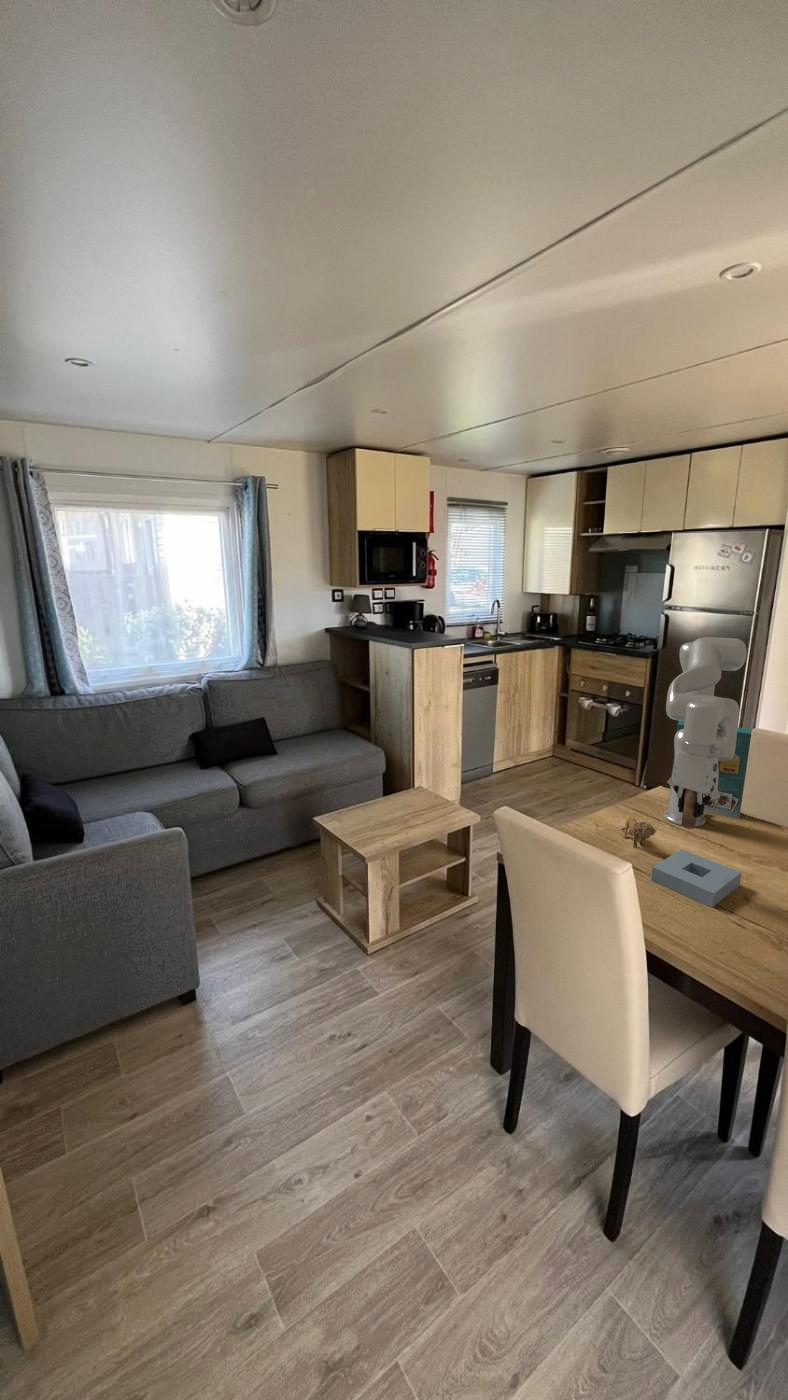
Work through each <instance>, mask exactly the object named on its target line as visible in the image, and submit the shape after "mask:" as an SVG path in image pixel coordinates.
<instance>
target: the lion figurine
mask: <svg viewBox="0 0 788 1400" xmlns="http://www.w3.org/2000/svg"><path fill="white" fill-rule="evenodd" d="M624 826H625V827H623V828H620V830H622V831H624V833H623V834H624V835H623V839H628V833H629V834H630V835H633V836H632V838H633V842H632V843H633V844H632V847H633V848H634V849H637V848H638V843H637V842H638V840H639V846H640V847H643V848H644V847H645V844H644V841H646V840H647V839H650V838H651V837H652V836H655V834H656V832H657V829H655V828H654V827H653V826H652V823H651V822H649V821H640V822H637V819H636V818H635V817H633V816H629V817H628V818H626V821H625V825H624Z"/></svg>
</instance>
